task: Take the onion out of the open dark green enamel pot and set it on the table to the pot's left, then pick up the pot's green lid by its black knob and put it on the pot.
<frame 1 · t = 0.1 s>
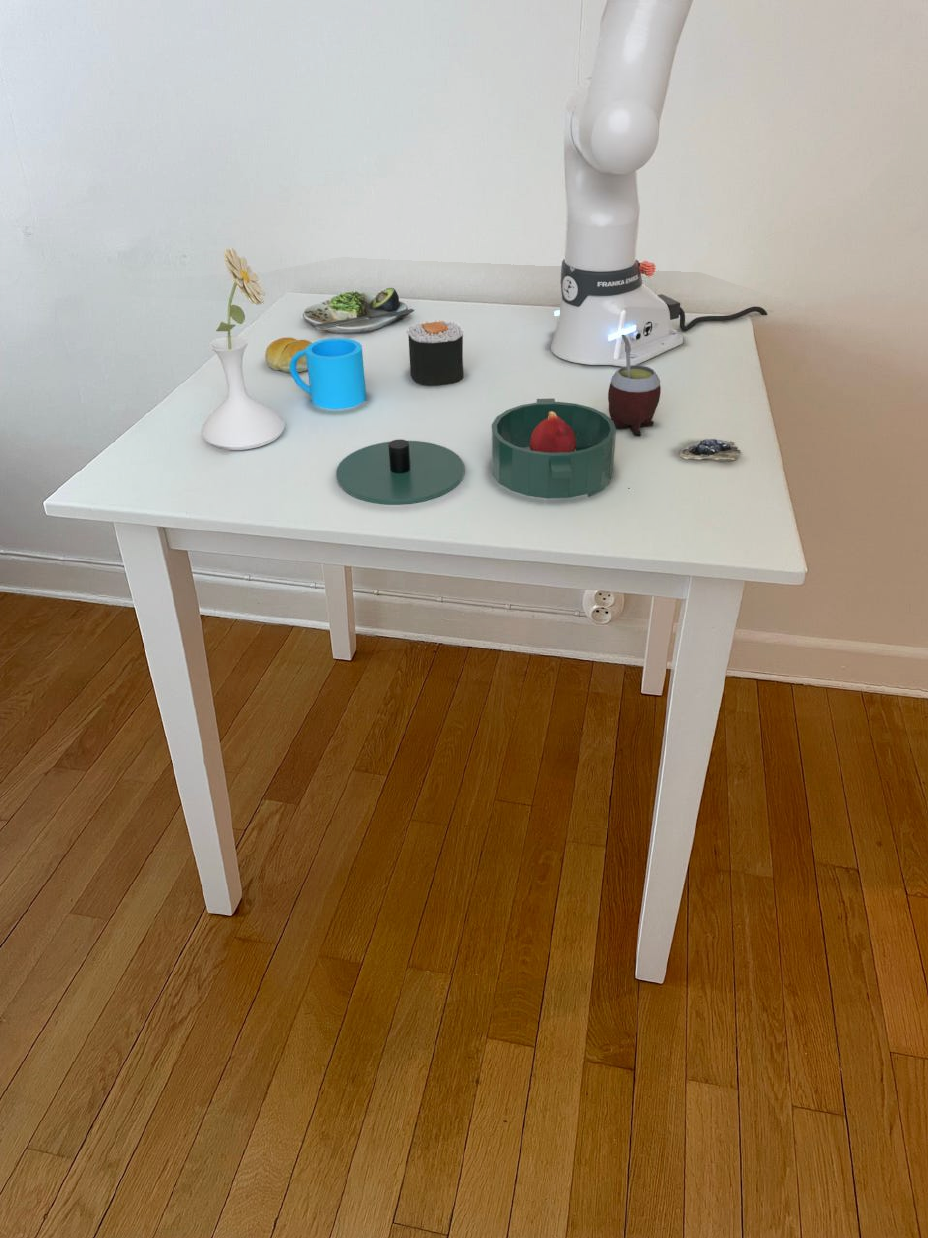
lid: (400, 472, 122), point 1 cm above the table
mug: (328, 400, 143), on the table
salad plate: (359, 319, 172), on the table
mate gourd: (630, 429, 133), on the table
pot: (551, 472, 123), on the table
sushi: (436, 377, 149), on the table
blueberries: (708, 455, 126), on the table
flower in vase: (248, 438, 133), on the table
onion: (551, 471, 123), resting on pot
bread roll: (294, 365, 155), on the table
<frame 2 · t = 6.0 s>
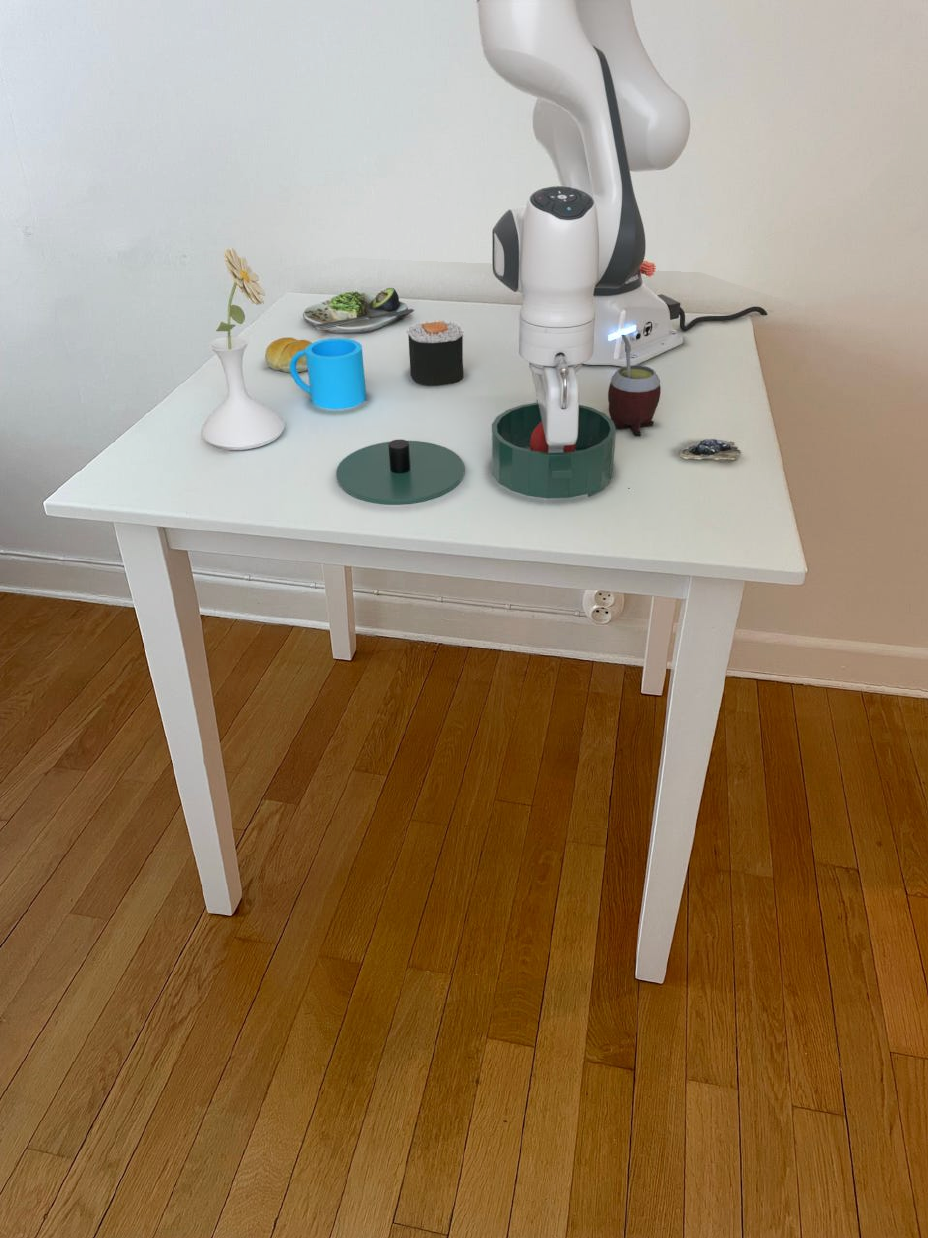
hand: (552, 446, 121), 4 cm above the table, tool pointing down, fingers closed on onion, 6 cm apart
onion: (551, 471, 123), resting on pot, touching gripper
everything else where it was.
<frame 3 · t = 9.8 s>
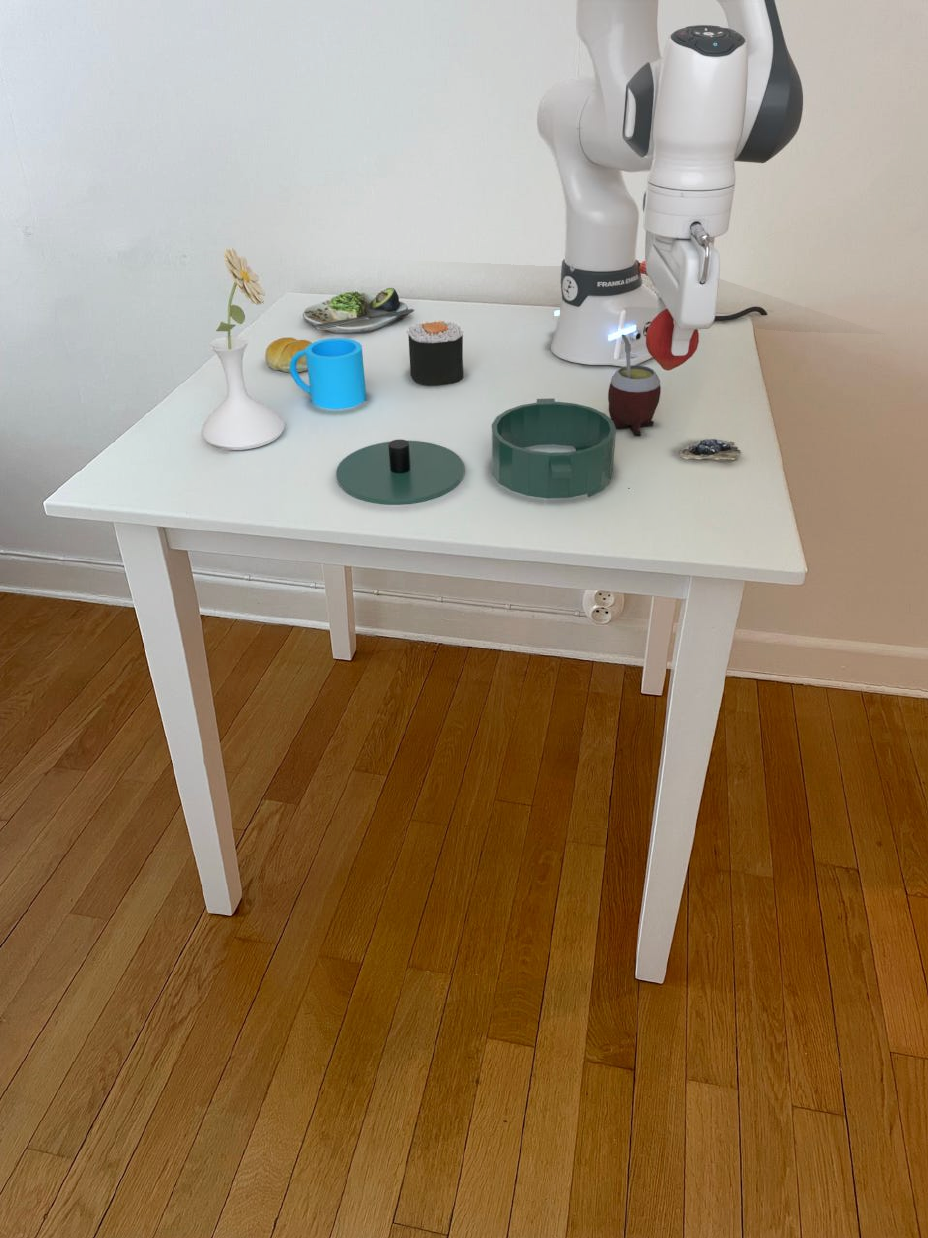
hand: (671, 341, 107), 19 cm above the table, tool pointing down, fingers closed on onion, 6 cm apart
onion: (668, 371, 109), point 16 cm above the table, touching gripper
everything else where it was.
when the fingers open (3 cm above the table, at t = 13.8 s): onion stays where it is, on the table.
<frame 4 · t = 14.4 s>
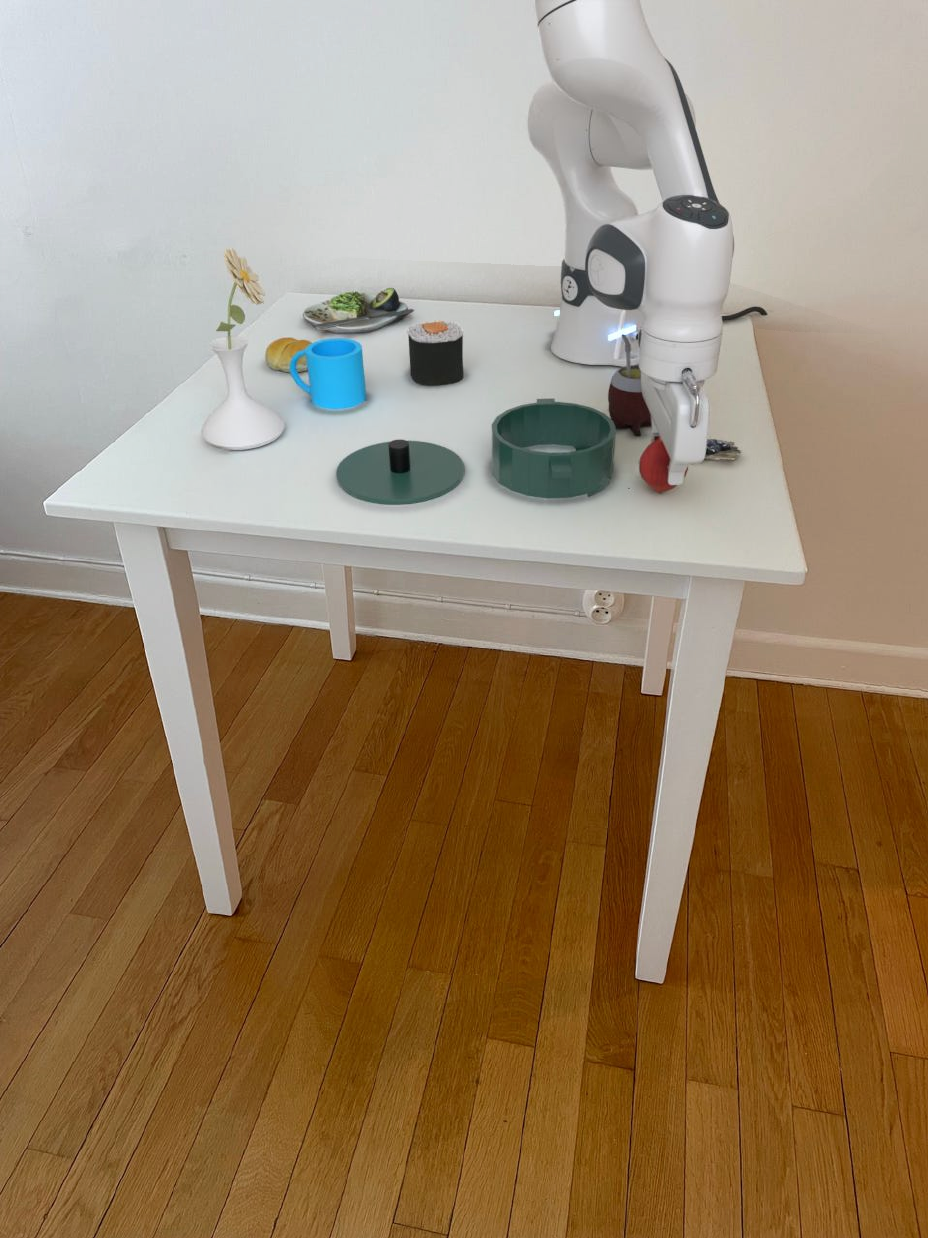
hand: (666, 463, 116), 4 cm above the table, tool pointing down, fingers open, 8 cm apart
onion: (660, 493, 118), on the table
everything else where it was.
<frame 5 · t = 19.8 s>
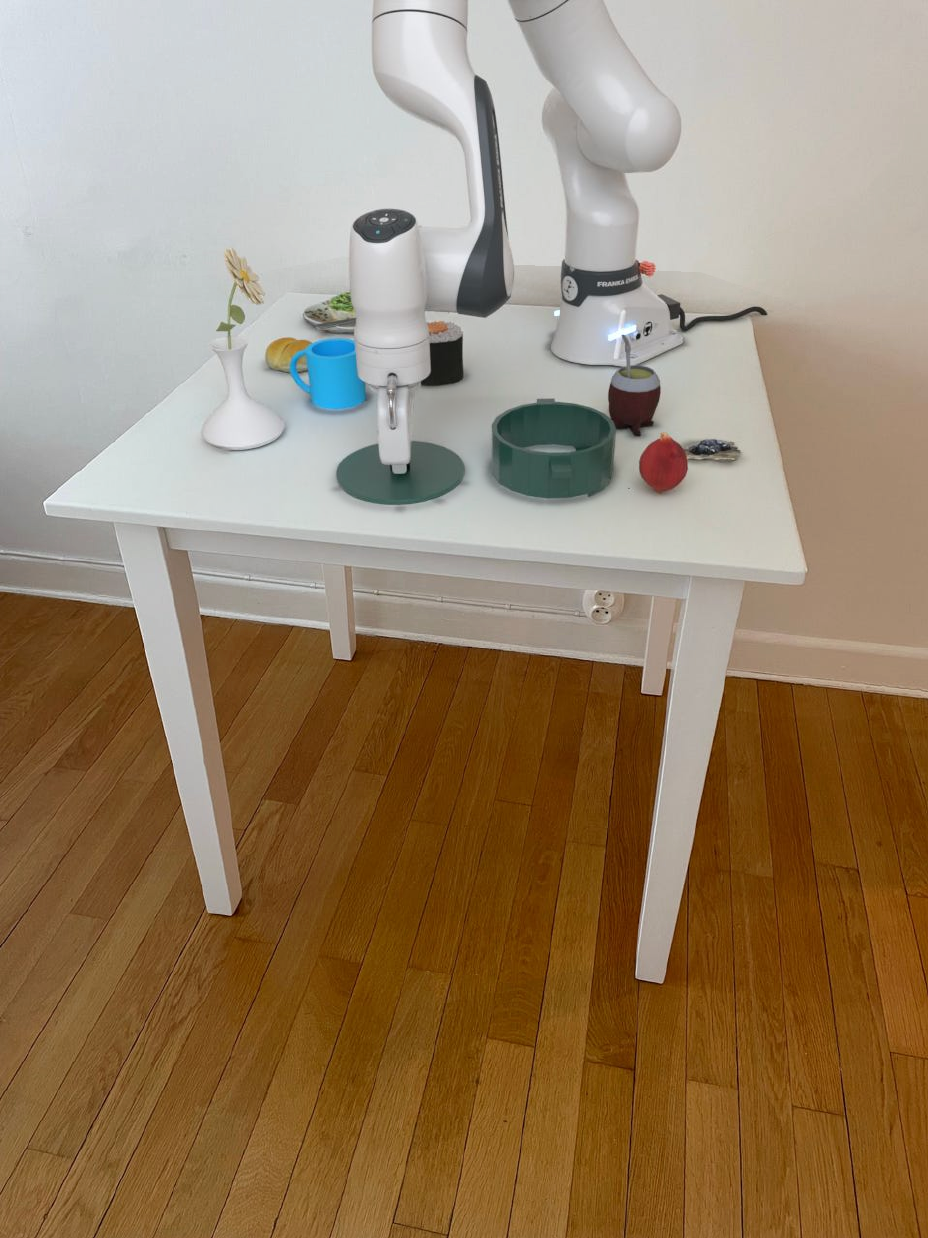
hand: (400, 463, 121), 2 cm above the table, tool pointing down, fingers closed on lid, 2 cm apart
lid: (400, 472, 122), point 1 cm above the table, touching gripper
everything else where it was.
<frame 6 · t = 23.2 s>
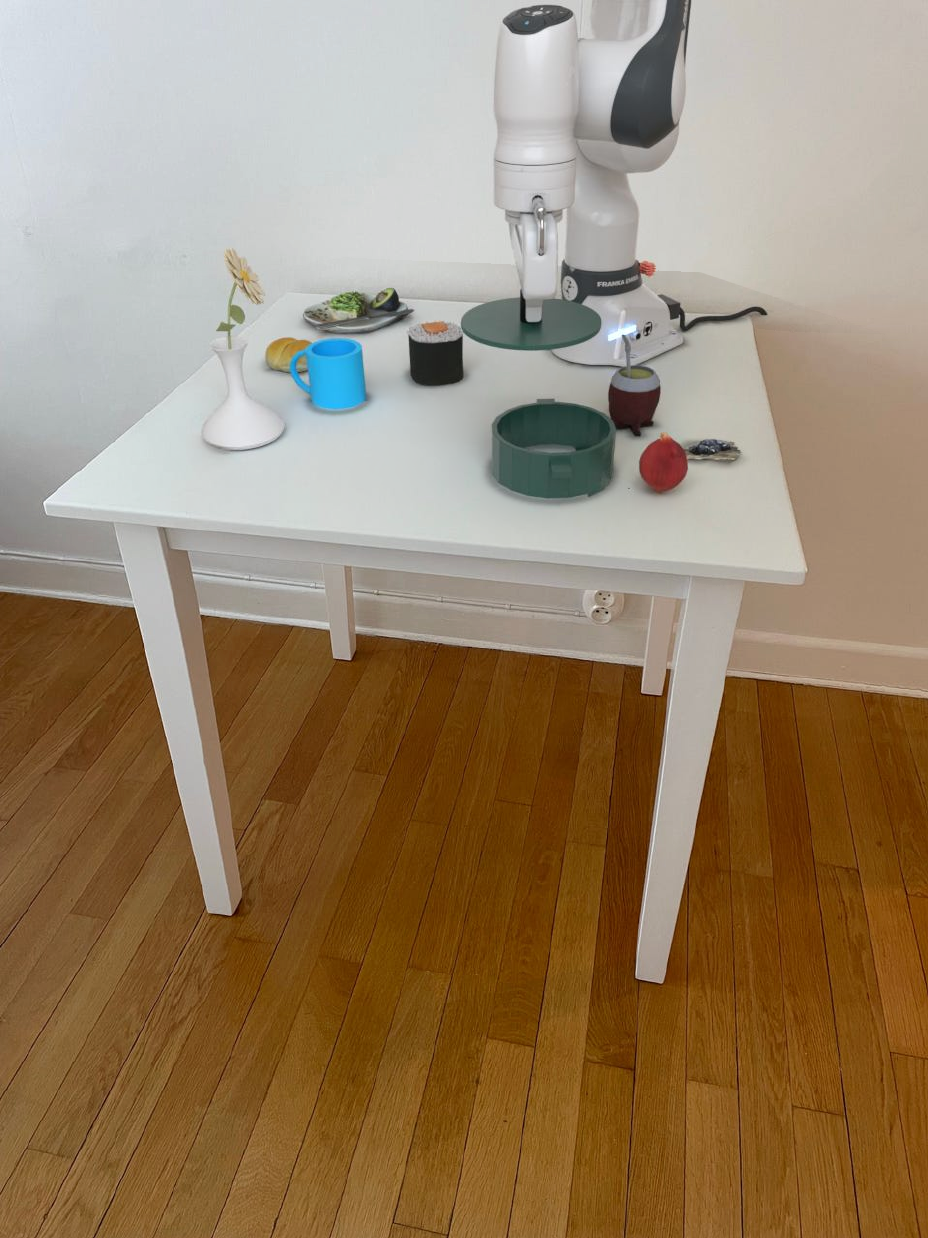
hand: (531, 313, 111), 21 cm above the table, tool pointing down, fingers closed on lid, 2 cm apart
lid: (530, 324, 111), point 19 cm above the table, touching gripper
everything else where it was.
when the fingers open (7 cm above the table, at t = 26.7 s): lid stays where it is, resting on pot.
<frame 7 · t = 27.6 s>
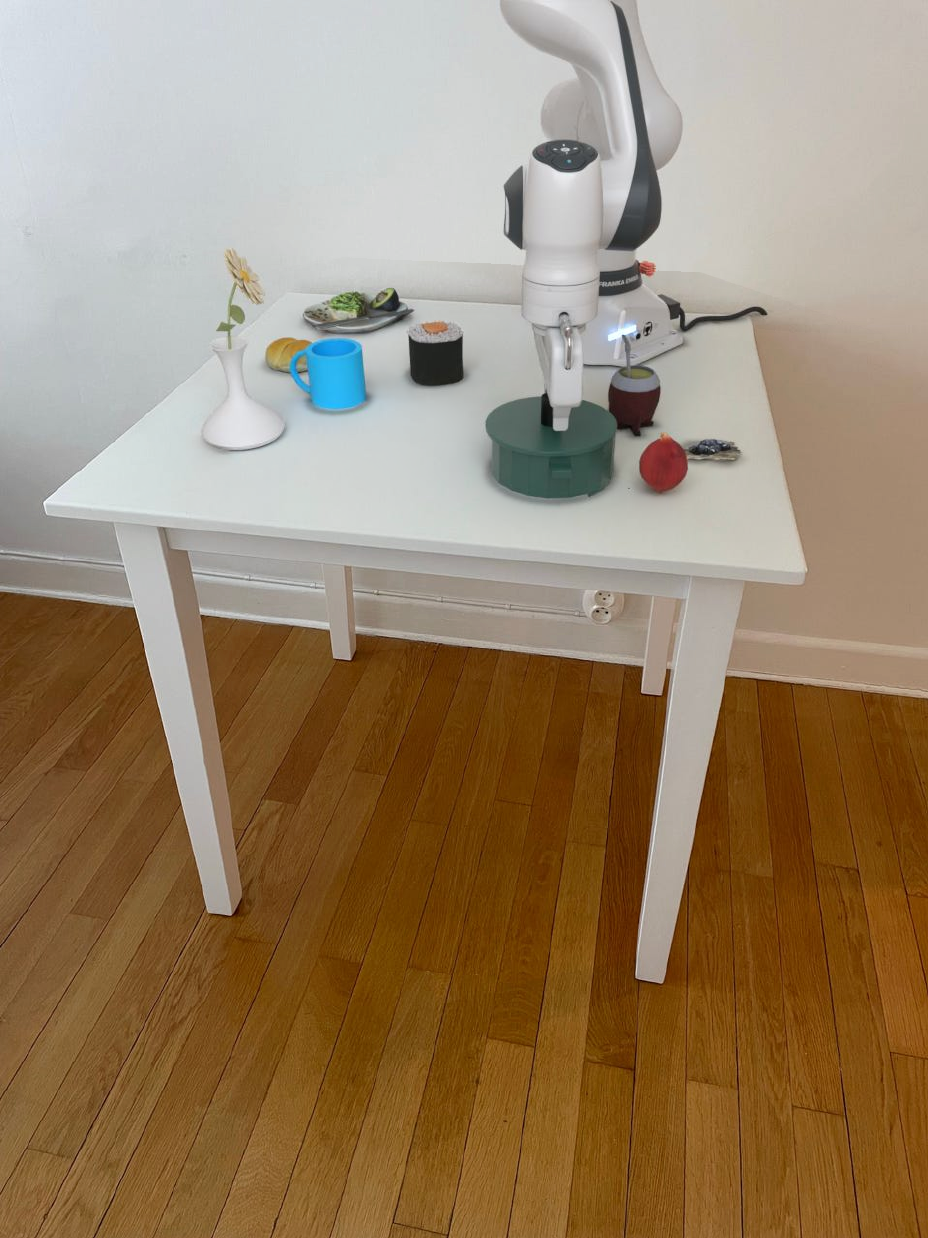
hand: (555, 411, 118), 8 cm above the table, tool pointing down, fingers open, 8 cm apart
lid: (550, 426, 119), point 6 cm above the table, touching pot
everything else where it was.
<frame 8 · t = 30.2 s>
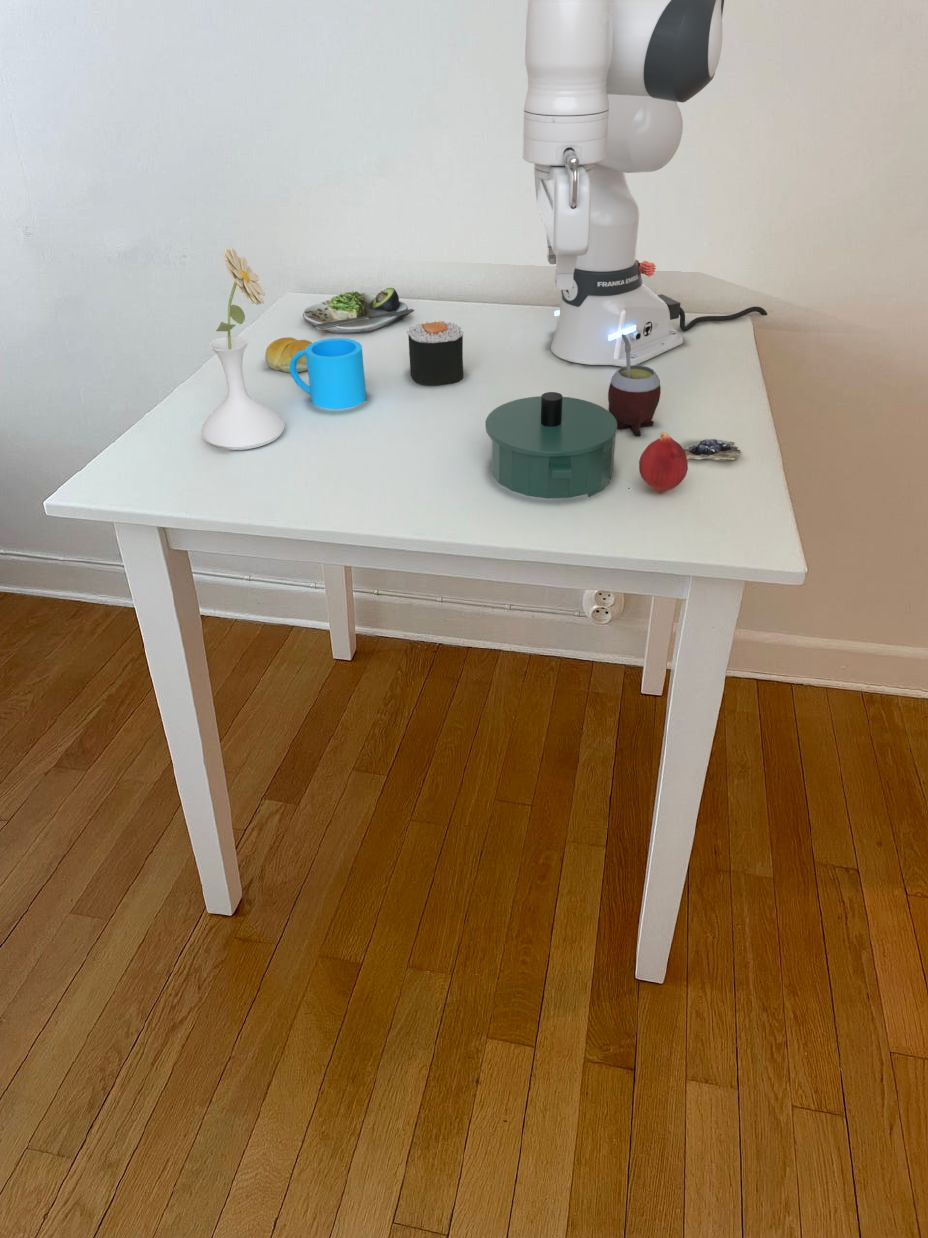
hand: (559, 274, 108), 25 cm above the table, tool pointing down, fingers open, 8 cm apart
nothing on the table moved.
at the end: onion inside the target area (0.2 cm from its centre), on the table; lid 0.4 cm off-centre on the pot, point 6.4 cm above the pot's base; lid tilted 0° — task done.
